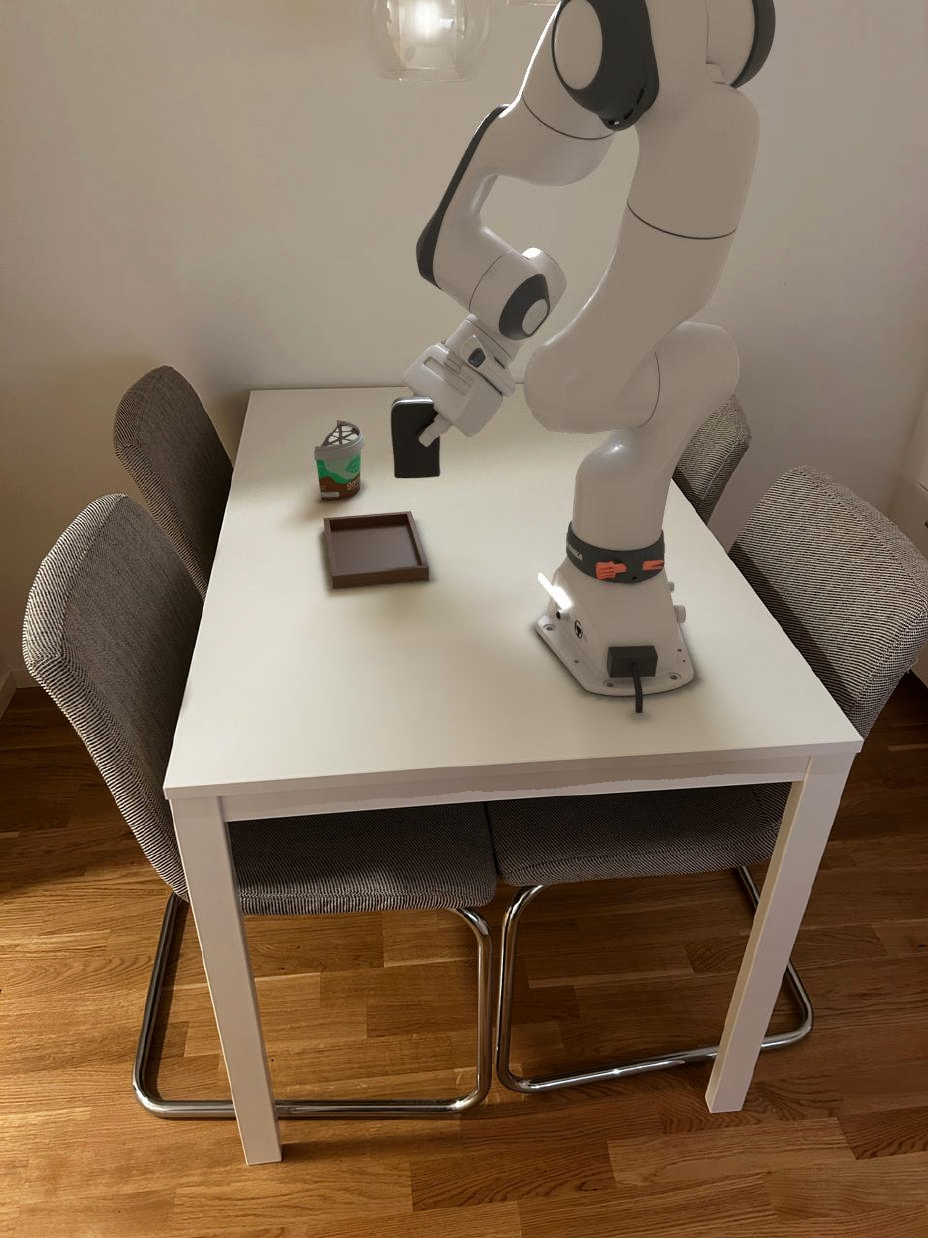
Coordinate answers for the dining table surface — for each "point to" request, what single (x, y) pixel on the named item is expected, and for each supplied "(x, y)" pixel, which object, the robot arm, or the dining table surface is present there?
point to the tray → (374, 550)
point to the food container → (340, 462)
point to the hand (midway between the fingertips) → (412, 434)
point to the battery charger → (413, 438)
